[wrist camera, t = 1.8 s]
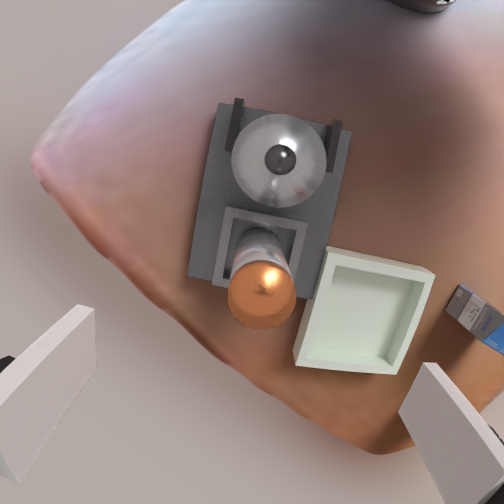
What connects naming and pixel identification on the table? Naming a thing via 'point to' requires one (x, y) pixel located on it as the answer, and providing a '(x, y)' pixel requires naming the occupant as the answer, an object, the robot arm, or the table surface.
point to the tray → (361, 313)
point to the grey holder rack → (268, 191)
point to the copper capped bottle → (260, 281)
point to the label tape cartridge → (478, 318)
